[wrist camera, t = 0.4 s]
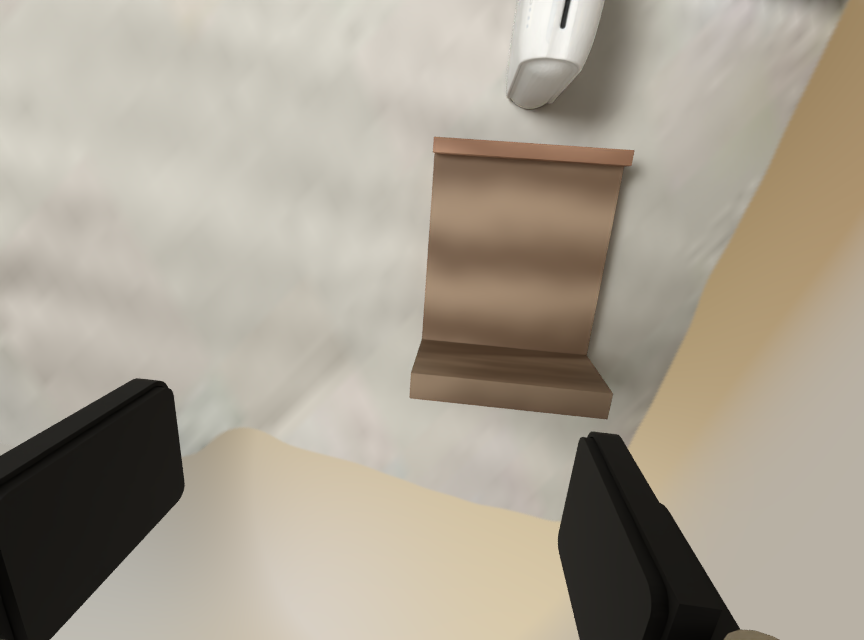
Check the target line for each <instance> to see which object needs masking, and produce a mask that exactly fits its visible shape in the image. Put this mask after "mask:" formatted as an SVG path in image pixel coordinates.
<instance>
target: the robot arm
mask: <svg viewBox="0 0 864 640" xmlns="http://www.w3.org/2000/svg"><path fill="white" fill-rule="evenodd" d="M183 491H184V475H183V467H182V459H181V451H180V443H179V435H178V427H177V419H176V411H175V402H174V395H173V392H172V390H171V389H169V388H168V386H167V385H166V383H164V382H163V381H156V380H148V379H137V378H136V379H133V380H131V381H129V382H128V383H126V384H124V385H122V386H121V387H119V388H117V389H115V390H114V391H112V392H110V393H109V394H107V395H105V396H103V397H102V398H100V399H98V400H96V401H95V402H93V403H91V404H89V405H88V406H86V407H84V408H83V409H81V410H79V411H77V412H76V413H74V414H72V415H70V416H69V417H67V418H65V419H63V420H62V421H60V422H58V423H57V424H55V425H53V426H51V427H50V428H48V429H46V430H44V431H43V432H41V433H39V434H37V435H36V436H34V437H32V438H30V439H29V440H27V441H25V442H24V443H22V444H20V445H18V446H17V447H15V448H13V449H11V450H10V451H8V452H6V453H4V454H3V455H1V456H0V640H50V639H51V638H52V637H53V636H54V635H55V634H56V633H57V632H58V630H59V629H60V628H61V627H62V626H63V625H64V624H65V623H66V622H67V621H68V620H69V619H70V618H71V616H72V615H73V614H74V613H75V612H76V611H77V610H78V609H79V608H80V606H82V605H83V603H84V602H85V601H86V600H87V599H88V598H89V597H90V596H91V595H92V594H93V593H94V591H95V590H96V589H97V588H98V587H99V586H100V585H101V584H102V583H103V582H104V581H105V580H106V579H107V577H108V576H109V575H110V574H111V573H112V572H113V571H114V570H115V569H116V568H117V567H118V566H119V564H120V563H121V562H122V561H123V560H124V559H125V558H126V557H127V556H128V555H129V554H130V553H131V552H132V550H133V549H134V548H135V547H136V546H137V545H138V544H139V543H140V542H141V541H142V540H143V539H144V537H145V536H146V535H147V534H148V533H149V532H150V531H151V530H152V529H153V528H154V527H155V526H156V524H157V523H158V522H159V521H160V520H161V519H162V518H163V517H164V516H165V515H166V514H167V513H168V511H169V510H170V509H171V508H172V507H173V506H174V505H175V504H176V503H177V502H178V501H179V499H180V498H181V496H182V493H183ZM558 549H559V554H560V559H561V562H562V567H563V571H564V575H565V579H566V584H567V588H568V592H569V596H570V601H571V605H572V609H573V613H574V618H575V622H576V626H577V630H578V634H579V638H580V640H779V639H777V638H775V637H773V636H770V635H767V634H764V633H761V632H758V631H753V630H740V628H739V626H738V625H737V623H736V621H735V620H734V618H733V616H732V615H731V613H730V611H729V610H728V609H727V607H726V605H725V603H724V602H723V600H722V598H721V597H720V595H719V593H718V592H717V590H716V588H715V587H714V585H713V583H712V582H711V580H710V578H709V577H708V575H707V573H706V572H705V570H704V568H703V567H702V565H701V563H700V562H699V560H698V558H697V557H696V555H695V554H694V552H693V550H692V549H691V547H690V545H689V544H688V542H687V540H686V539H685V537H684V536H683V534H682V532H681V530H680V529H679V527H678V525H677V524H676V522H675V521H674V519H673V517H672V515H671V514H670V512H669V511H668V509H667V508H666V507H665V506H664V505H663V504H661V503H659V501H658V499H657V498H656V496H655V494H654V493H653V491H652V489H651V488H650V486H649V484H648V483H647V481H646V479H645V478H644V476H643V474H642V473H641V471H640V469H639V467H638V466H637V464H636V462H635V461H634V459H633V457H632V455H631V454H630V452H629V450H628V449H627V447H626V445H625V444H624V442H623V440H622V438H621V437H620V436H619V435H617V434H608V433H600V432H590V433H589V435H588V438H585V437H581V438H580V440H579V443H578V447H577V452H576V456H575V461H574V465H573V470H572V475H571V479H570V484H569V488H568V493H567V497H566V502H565V506H564V511H563V515H562V520H561V525H560V529H559V534H558Z"/></svg>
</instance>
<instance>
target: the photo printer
mask: <svg viewBox="0 0 864 640" xmlns="http://www.w3.org/2000/svg"><path fill="white" fill-rule="evenodd" d="M604 2H605V0H518V1H517V7H516V13H515V19H514V25H513V31H512V38H511V45H510V52H509V60H508V68H507V76H506V97H507V98H510V99H512V101H513V102H514V103H515V104H516V105H518V106H520V107H522V108H525V109H535V108H538V107H541V106H543V105H544V104H546V103H549V104H551V103H552V102H554V101H555V99H556V98H557V97H558V96H559V95H560V94H561V93H562V91H563V90H564V89H565V88H566V87H567V86H568V85H569V84H570V83H571V82H572V81H573V79H574V78H575V77H576V76H577V75H578V74H579V73H580V72H581V70H582V68H583V66H584V64H585V62H586V60H587V57H588V55H589V53H590V51H591V48H592V45H593V42H594V39H595V36H596V32H597V29H598V25H599V21H600V18H601V14H602V10H603V6H604Z"/></svg>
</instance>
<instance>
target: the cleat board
mask: <svg viewBox="0 0 864 640" xmlns="http://www.w3.org/2000/svg"><path fill="white" fill-rule="evenodd" d="M433 152H434V153H435V156H434V171H433V186H432V200H431V215H430V230H429V244H428V259H427V273H426V288H425V303H424V317H423V332H422V341H421V344H420V347H419V350H418V353H417V356H416V359H415V362H414V365H413V369H412V372H411V382H410V398H413V399H422V400H431V401H441V402H450V403H459V404H469V405H478V406H487V407H497V408H506V409H515V410H525V411H534V412H543V413H553V414H562V415H571V416H581V417H590V418H599V419H608V414H609V410H610V405H611V401H612V396H613V393H612V391H611V390H610V389H609V387H608V386H607V384H606V383H605V381H604V380H603V378H602V377H601V375H600V374H599V372H598V371H597V370H596V368H595V367H594V365H593V364H592V362H591V361H590V359H589V358H588V356H587V351H588V346H589V341H590V336H591V331H592V326H593V320H594V315H595V310H596V305H597V300H598V295H599V290H600V285H601V280H602V275H603V270H604V265H605V260H606V255H607V250H608V245H609V240H610V235H611V230H612V225H613V220H614V215H615V210H616V205H617V200H618V194H619V189H620V184H621V179H622V174H623V169H624V167H625V166H631V165H632V160H633V155H634V150H621V149H607V148H592V147H577V146H562V145H548V144H533V143H518V142H504V141H489V140H474V139H459V138H445V137H434V144H433Z"/></svg>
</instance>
